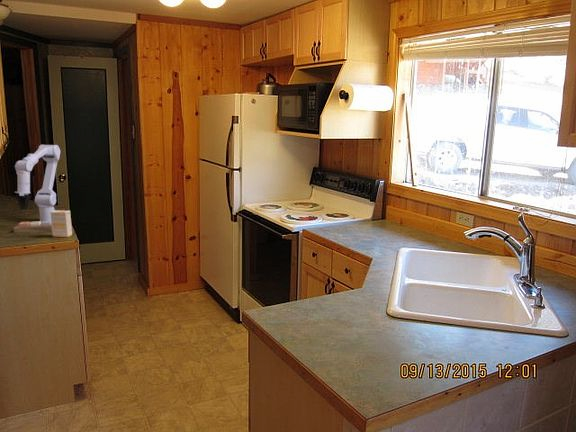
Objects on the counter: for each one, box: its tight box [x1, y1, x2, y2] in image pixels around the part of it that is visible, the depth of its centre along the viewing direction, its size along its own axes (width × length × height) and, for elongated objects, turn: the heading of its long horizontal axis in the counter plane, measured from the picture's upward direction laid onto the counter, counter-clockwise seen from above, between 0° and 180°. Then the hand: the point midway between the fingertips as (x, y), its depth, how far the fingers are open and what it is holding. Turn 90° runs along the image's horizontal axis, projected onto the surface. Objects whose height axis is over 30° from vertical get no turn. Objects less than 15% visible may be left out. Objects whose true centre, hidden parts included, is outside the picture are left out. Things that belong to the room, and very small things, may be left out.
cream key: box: [30, 220, 41, 226], centre depth 261 cm, size 4×4×2 cm
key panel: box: [13, 221, 52, 234], centre depth 262 cm, size 13×18×2 cm
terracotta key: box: [18, 221, 31, 226], centre depth 260 cm, size 4×4×2 cm
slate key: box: [42, 221, 52, 225], centre depth 263 cm, size 4×4×2 cm
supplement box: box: [50, 209, 73, 238], centre depth 247 cm, size 8×5×13 cm, turn 84°
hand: (23, 209), depth 258 cm, fingers open, 7 cm apart
